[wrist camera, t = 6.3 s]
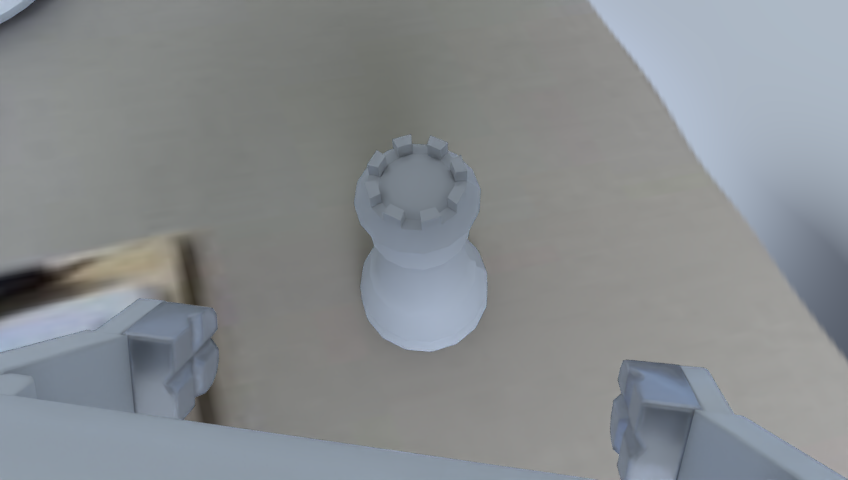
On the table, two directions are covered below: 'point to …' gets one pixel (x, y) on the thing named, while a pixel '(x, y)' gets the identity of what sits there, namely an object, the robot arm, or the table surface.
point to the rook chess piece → (421, 245)
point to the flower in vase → (12, 8)
